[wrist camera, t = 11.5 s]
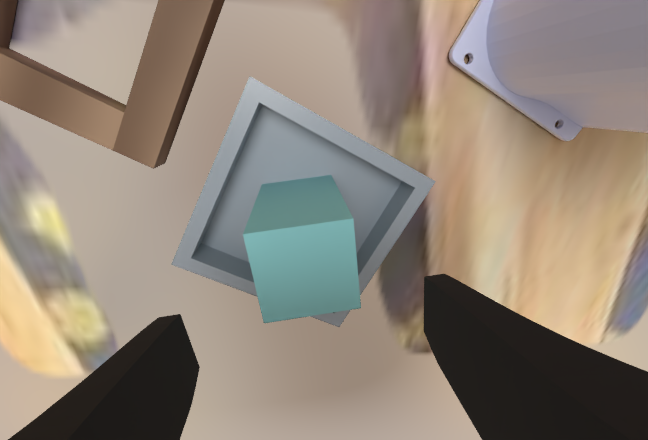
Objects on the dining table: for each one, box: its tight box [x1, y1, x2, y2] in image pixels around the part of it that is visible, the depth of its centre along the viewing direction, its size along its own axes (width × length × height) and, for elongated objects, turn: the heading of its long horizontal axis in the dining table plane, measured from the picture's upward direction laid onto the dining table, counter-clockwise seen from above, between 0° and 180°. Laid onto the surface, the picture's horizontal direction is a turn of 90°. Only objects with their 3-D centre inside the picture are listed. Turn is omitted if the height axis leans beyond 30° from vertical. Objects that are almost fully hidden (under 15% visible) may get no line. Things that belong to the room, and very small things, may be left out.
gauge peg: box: [243, 175, 361, 323], centre depth 15 cm, size 4×4×7 cm
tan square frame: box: [0, 0, 225, 168], centre depth 14 cm, size 10×10×2 cm
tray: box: [172, 77, 436, 327], centre depth 17 cm, size 11×11×2 cm
